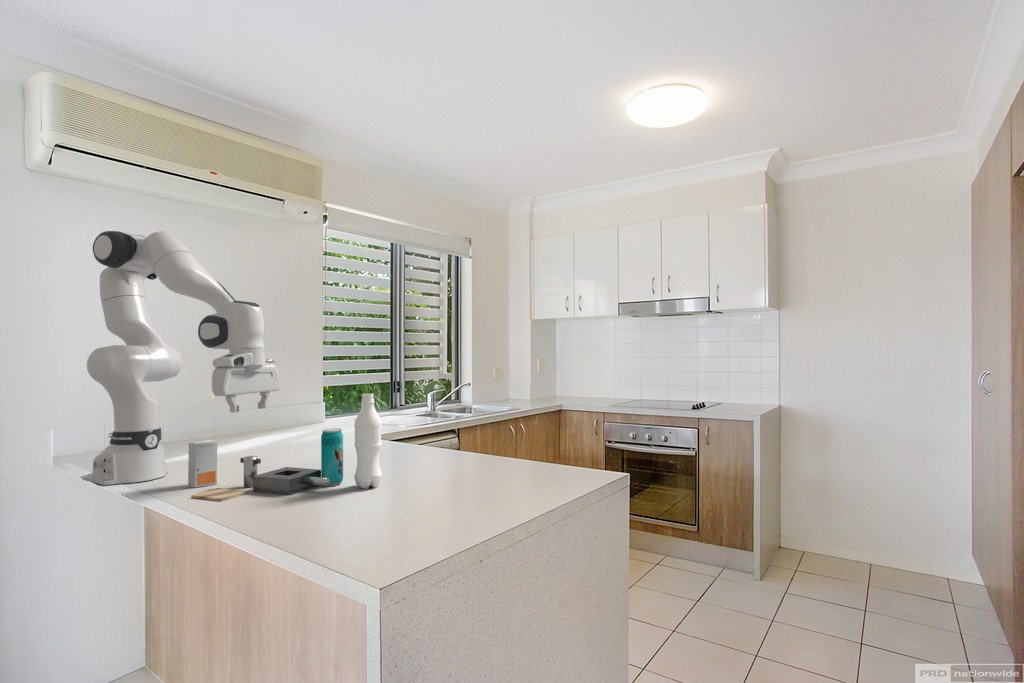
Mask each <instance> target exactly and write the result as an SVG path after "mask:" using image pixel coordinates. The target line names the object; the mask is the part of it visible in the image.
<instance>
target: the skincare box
mask: <svg viewBox="0 0 1024 683" xmlns="http://www.w3.org/2000/svg"><path fill="white" fill-rule="evenodd" d="M187 464H188V465H187V466H188V467H187V468H188V470H187V472H188V473H187V474H188V476H187V478H188V480H187V482H188V483H187V484H188V485H187V486H188V487H191V488H195V489H196V488H200V487H201V488H203V487H207V486H213V485H217V483H218V441H217V440H214V439H209V440H208V439H206V440H200V441H192V442H188V463H187Z"/></svg>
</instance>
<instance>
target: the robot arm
mask: <svg viewBox="0 0 1024 683" xmlns="http://www.w3.org/2000/svg"><path fill="white" fill-rule="evenodd" d="M92 253H93V256H94V259H95V261H97V263H99V264H101V265H103V266H105V267H106V268H104V269H103V270H102V271H101V273H100V275H99V294H100V302H101V308H102V312H103V317H104V318H103V319H104V322H105V326H106V328H107V330H108V332H110V334H113V335H114V336H117V337H118V338H120V339H121V340H122V341H123V342H124V343H125V345H124V344H122V345H121V344H116V345H115V344H113V345H108V346H103V347H98V348H94V350H93V351H91V353H90V354H89V356H88V358H87V361H86V370H87V372H88V374H89V376H90V377H91V379H93V380H94V381H95V382H97V383H98V384H100V385H101V386H102V387H103V388H104V390H105V391H106V392H107V394H108V396H109V398H110V399H111V400H110V401H111V403H112V407H113V408H112V409H113V420H114V421H113V422H114V426H113V427H114V428H113V431H112V432H110V433H108V435H110V436H108V438H110V439H109V445H108V446H106V448H104V449H103V450H102V451H101V452H100V453H99V454H98V455H96V456H95V457H94V459H93V461H92V462H93V463H92V473H88V474H85V475H82V477H81V479H82V481H87V482H91V483H95V484H98V485H100V486H101V485H102V486H109V485H117V484H119V485H120V484H129V483H130V484H131V483H138V482H145V481H146V482H147V481H151V480H156V479H159V478H162V477H164V476H166V475H167V473H169V468H168V467H166V460H165V450H164V448H165V447H164V445H163V444H162V443H161V440H162V434H163V433H162V428H161V427H160V420H161V419H160V415H161V414H160V412H161V411H160V408H161V407H160V403H159V400H158V399H156V398H155V397H153V396H151V395H149V394H148V393H147V392H146V391H145V388H144V385H143V383H147V382H149V383H150V382H161V381H165V380H169V379H173V378H174V377H176V376H178V374H179V373H180V371H181V370H182V366H183V359H182V355H181V353H180V352H179V351H178V350H177V349H176V348H174V347H173V346H170V344H168V343H167V342H166V341H165V340H164V339H163V337H161V335H160V333H158V331H157V329H156V328H155V325H154V323H153V321H152V318H151V317H152V316H151V313H150V311H149V306H148V302H147V298H146V294H145V290H144V282H145V279H147V280H150V281H151V280H153V281H154V280H157V278H158V280H159V281H160V283H161V284H162V285H163V286H164V287H166V288H167V289H168V290H169V291H171V292H173V293H175V294H179V295H182V296H186V297H189V298H193V299H195V300H198V301H201V302H203V303H206V304H207V305H209V306H210V307H211V308H212V309H214V311H215V313H213V314H209V315H206V316H204V317H203V319H201V321H200V322H199V325H198V327H197V328H198V329H197V337H198V339H199V341H200V342H201V344H202V345H203V346H204V347H205V348H209V349H212V350H213V349H215V350H228V353H227V354H224V355H222V356H220V357H216V358H214V359H213V360H212V367H213V368H214V370H213V371H212V376H211V391H212V394H213V395H214V396H215V397H225V401H226V403H227V404H228V406H229V412H230V413H238V412H240V404H239V405H238V404H237V403H236V401H235V400H236V399H237V395H248V394H257V393H259V396H260V400H259V402H257V409H258V410H259V409H261V410H263V409H267V407H268V406H267V402H268V401H269V398H270V396H271V395H270V394H271V393H270V392H276V391H279V389H280V387H281V382H280V373H279V370H278V365H277V363H276V362H275V360H274V359H271V358H269V359H267V358H266V351H265V350H266V349H265V348H266V347H265V343H264V335H265V321H264V313H263V310H262V307H261V306H260V304H258V303H256V302H252V301H244V300H236V299H235V298H234V297H233V295H231V293H230V292H229V291H228V290H227V289H226V288H225V286H224V285H223V284H222V283H220V282H219V281H218V280H217V279H216V278H214V277H213V275H211V274H210V273H209V272H208V271H207V270H206V269H205V268H204V267H203V266H202V265H201V264H200V263H199V261H198V260H197V259H196V258H195V257H194V255H193V253H191V251H190V250H189V249H188V248H187V246H186V245H185V244H184V243H183V242H182V241H181V240H180V239H179V238H178V237H177V236H175V235H174V234H173V233H171V232H169V231H163V230H158V231H155V232H152V233H150V234H148V235H147V236H145V235H143V234H134V233H129V232H128V233H126V232H122V231H119V230H118V231H117V230H108V231H107V230H106V231H105V230H104V231H102V232H100V233H99V234H98V235H97V236H96V237H95V239H94V241H93V244H92Z"/></svg>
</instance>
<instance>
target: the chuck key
mask: <svg viewBox="0 0 1024 683" xmlns="http://www.w3.org/2000/svg"><path fill="white" fill-rule="evenodd" d="M239 461H240V462H239V463H240V464H241V463H242V464H243V488H245V489H250V488H252V487H253V476H255V475H258V465H259V464H261V463H262V459H261V458H258V456H257V455H248V456H244V457H240V458H239ZM252 489H253V488H252Z"/></svg>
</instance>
